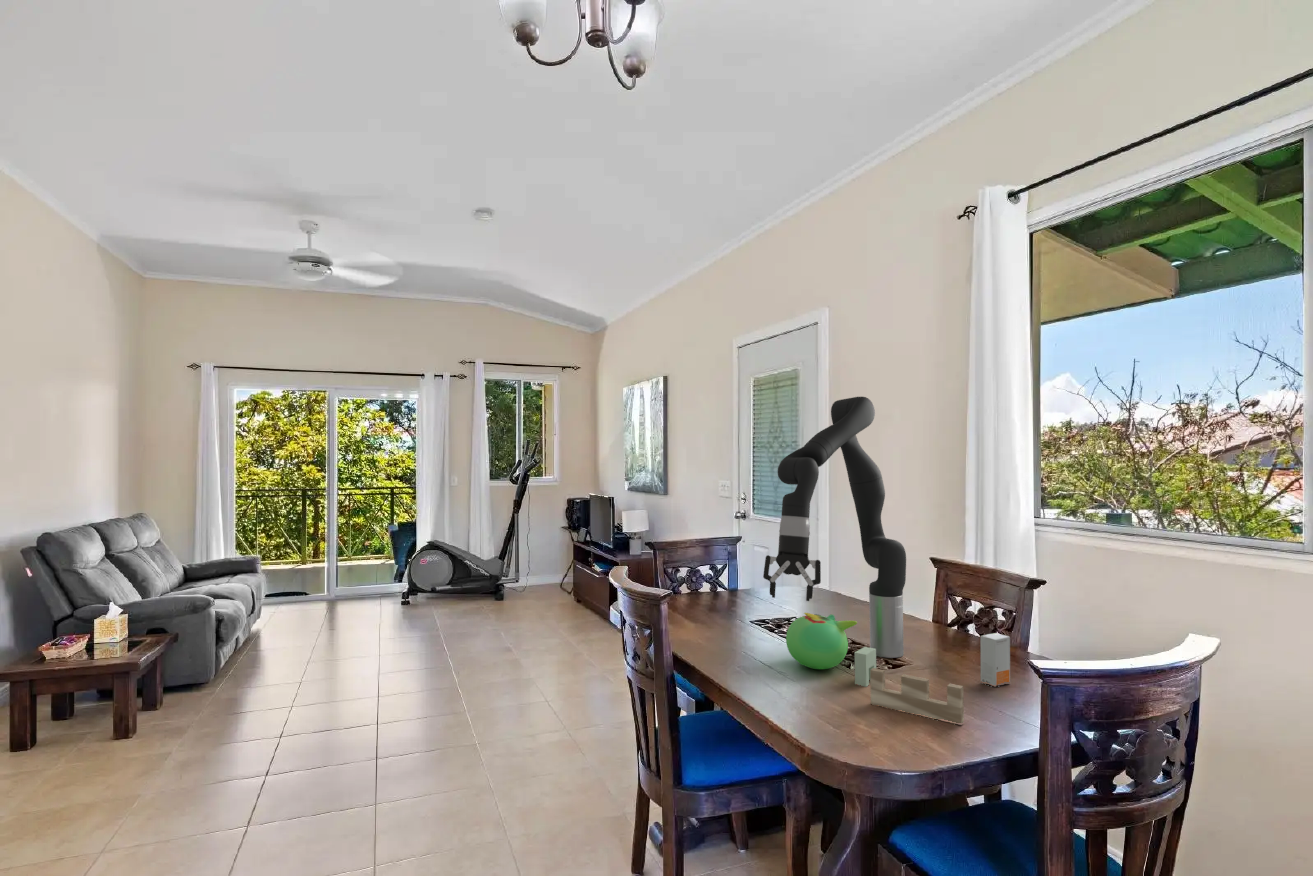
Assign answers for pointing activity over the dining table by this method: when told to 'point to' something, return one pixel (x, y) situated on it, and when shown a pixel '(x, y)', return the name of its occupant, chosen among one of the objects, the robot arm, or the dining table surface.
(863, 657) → the notched block
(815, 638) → the toy bird
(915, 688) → the maple board
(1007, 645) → the skincare box
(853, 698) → the dining table surface
